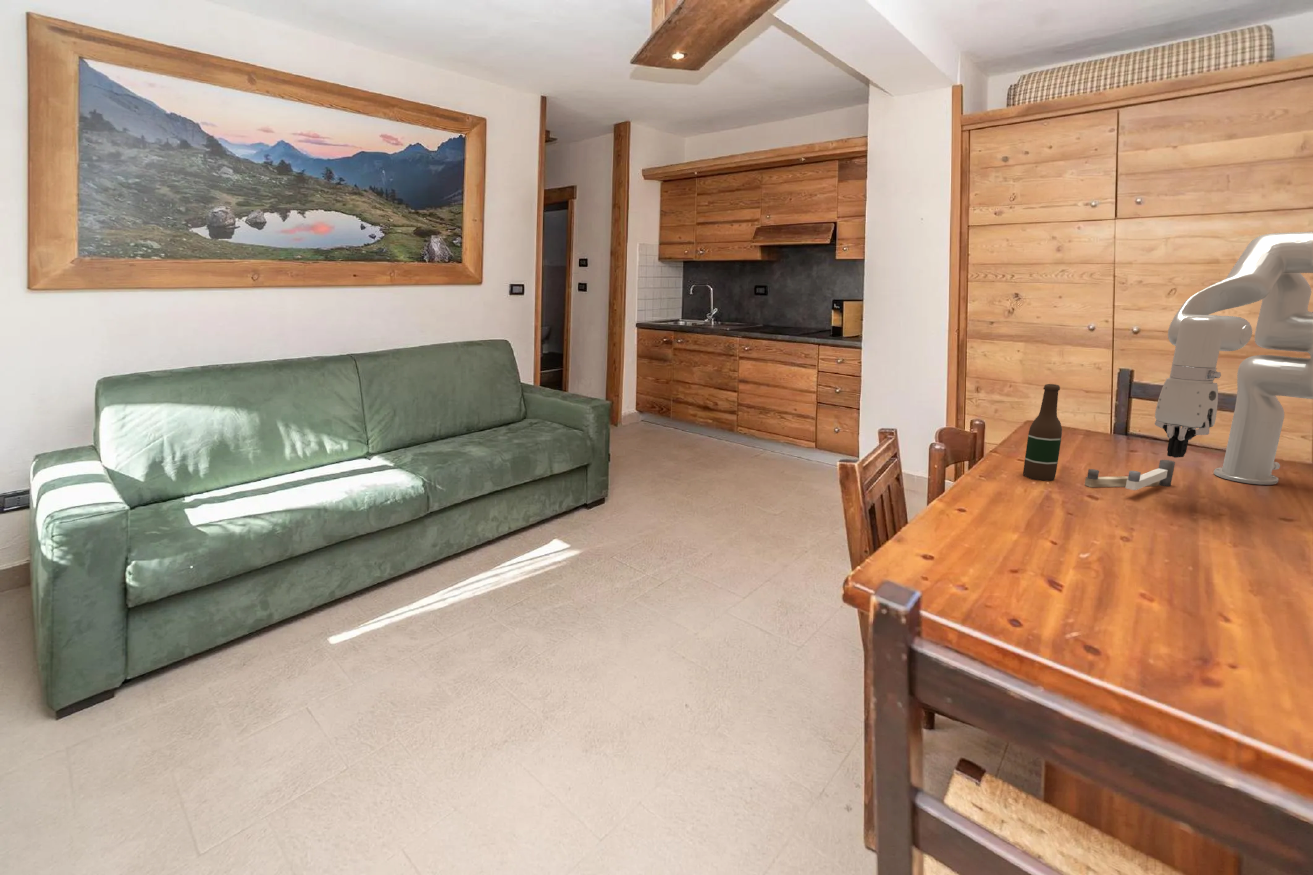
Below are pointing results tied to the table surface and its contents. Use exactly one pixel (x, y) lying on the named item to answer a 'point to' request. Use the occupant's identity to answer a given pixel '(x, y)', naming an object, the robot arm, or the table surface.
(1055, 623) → the table surface
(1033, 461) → the beer bottle
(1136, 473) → the tongs moving jaw
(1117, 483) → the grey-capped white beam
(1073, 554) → the table surface
